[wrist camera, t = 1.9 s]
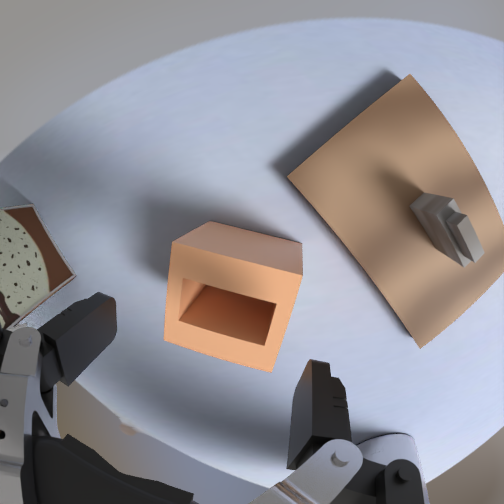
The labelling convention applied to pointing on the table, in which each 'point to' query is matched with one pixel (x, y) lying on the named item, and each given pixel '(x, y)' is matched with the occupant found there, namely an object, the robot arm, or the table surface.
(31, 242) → the food container
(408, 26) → the table surface
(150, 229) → the table surface
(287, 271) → the orange open box
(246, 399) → the table surface
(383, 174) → the base board
